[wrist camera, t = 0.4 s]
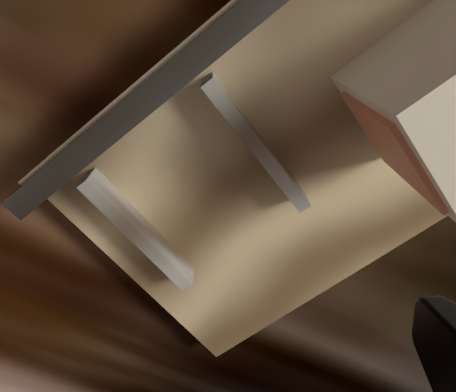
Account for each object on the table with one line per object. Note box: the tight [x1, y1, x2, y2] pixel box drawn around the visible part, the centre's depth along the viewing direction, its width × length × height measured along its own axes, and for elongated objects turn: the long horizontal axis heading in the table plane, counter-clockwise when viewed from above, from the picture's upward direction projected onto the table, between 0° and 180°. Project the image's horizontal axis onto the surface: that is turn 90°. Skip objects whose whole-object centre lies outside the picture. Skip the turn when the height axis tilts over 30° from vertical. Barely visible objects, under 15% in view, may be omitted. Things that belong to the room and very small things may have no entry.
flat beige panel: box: [2, 0, 448, 357], centre depth 18 cm, size 14×22×4 cm, turn 128°
